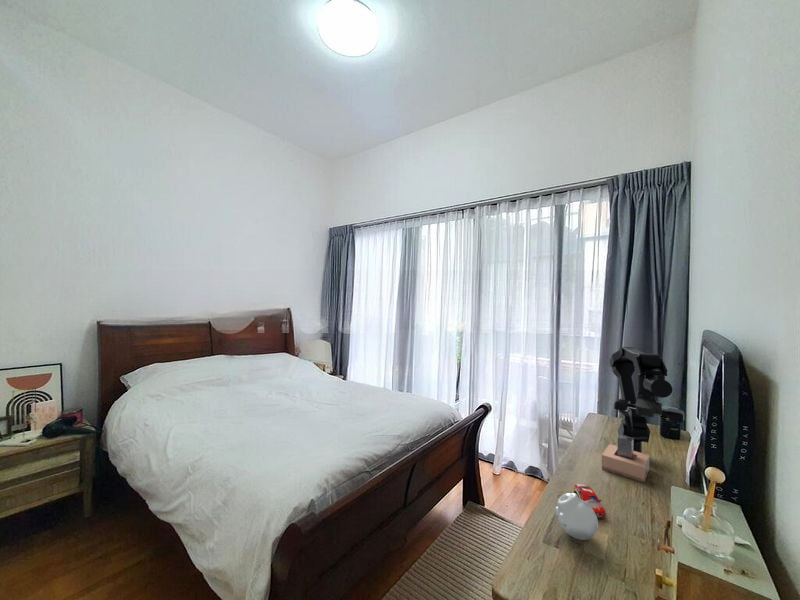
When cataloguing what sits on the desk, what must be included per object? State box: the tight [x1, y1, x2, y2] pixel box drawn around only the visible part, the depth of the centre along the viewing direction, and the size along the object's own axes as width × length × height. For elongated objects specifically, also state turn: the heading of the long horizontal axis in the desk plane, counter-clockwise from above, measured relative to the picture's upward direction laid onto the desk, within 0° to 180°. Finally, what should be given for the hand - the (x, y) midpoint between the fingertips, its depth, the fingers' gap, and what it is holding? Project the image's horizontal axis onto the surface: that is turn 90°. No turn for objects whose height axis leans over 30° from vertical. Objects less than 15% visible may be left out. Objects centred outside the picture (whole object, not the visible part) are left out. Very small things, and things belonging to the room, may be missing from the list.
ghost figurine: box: [553, 492, 599, 541], centre depth 79 cm, size 9×10×10 cm
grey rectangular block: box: [617, 435, 634, 461], centre depth 111 cm, size 4×4×10 cm
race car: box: [573, 483, 607, 520], centre depth 91 cm, size 13×5×4 cm, turn 166°
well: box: [601, 443, 650, 484], centre depth 111 cm, size 12×12×5 cm
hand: (647, 434), depth 109 cm, fingers open, 9 cm apart
